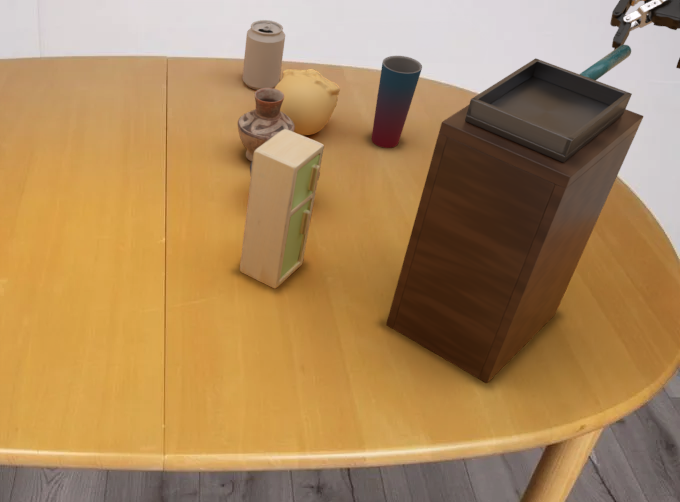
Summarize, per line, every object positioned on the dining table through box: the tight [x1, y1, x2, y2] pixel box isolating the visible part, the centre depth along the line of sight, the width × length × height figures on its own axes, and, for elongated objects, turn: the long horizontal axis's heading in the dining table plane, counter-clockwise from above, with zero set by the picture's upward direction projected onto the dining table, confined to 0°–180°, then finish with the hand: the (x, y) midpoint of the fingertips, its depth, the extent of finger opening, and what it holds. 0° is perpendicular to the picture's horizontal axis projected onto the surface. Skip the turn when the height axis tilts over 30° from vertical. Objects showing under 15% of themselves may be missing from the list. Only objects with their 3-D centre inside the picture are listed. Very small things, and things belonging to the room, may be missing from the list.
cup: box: [370, 55, 423, 149], centre depth 156 cm, size 7×7×15 cm
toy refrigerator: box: [239, 129, 325, 289], centre depth 125 cm, size 8×7×21 cm
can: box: [241, 19, 286, 91], centre depth 172 cm, size 8×8×12 cm
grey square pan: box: [465, 44, 633, 162], centre depth 106 cm, size 30×12×3 cm, turn 136°
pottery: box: [237, 87, 321, 180], centre depth 146 cm, size 11×25×12 cm, turn 9°
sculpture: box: [274, 68, 341, 136], centre depth 160 cm, size 12×12×11 cm
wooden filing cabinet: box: [385, 104, 644, 384], centre depth 114 cm, size 20×16×32 cm
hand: (648, 56), depth 123 cm, fingers open, 8 cm apart
